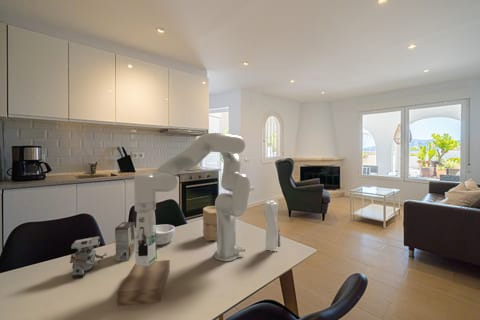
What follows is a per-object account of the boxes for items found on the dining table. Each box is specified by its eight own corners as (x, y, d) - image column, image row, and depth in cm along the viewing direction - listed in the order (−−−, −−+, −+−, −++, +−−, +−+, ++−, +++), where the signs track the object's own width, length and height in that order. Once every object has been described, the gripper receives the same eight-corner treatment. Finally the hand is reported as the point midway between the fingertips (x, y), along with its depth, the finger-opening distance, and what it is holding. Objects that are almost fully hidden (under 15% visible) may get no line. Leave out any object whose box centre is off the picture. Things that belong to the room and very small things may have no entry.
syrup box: (148, 266, 84) (148, 228, 83) (134, 265, 85) (134, 227, 84) (157, 259, 89) (156, 223, 89) (143, 257, 91) (143, 222, 90)
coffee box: (123, 252, 116) (122, 221, 116) (136, 251, 117) (135, 221, 116) (115, 261, 107) (114, 228, 106) (129, 260, 108) (128, 227, 107)
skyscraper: (278, 254, 115) (278, 200, 114) (263, 251, 118) (263, 199, 116) (280, 247, 123) (281, 197, 122) (266, 245, 126) (266, 196, 124)
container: (225, 240, 132) (225, 210, 131) (204, 242, 128) (204, 212, 127) (221, 232, 144) (221, 205, 143) (201, 234, 140) (201, 206, 139)
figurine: (98, 276, 94) (97, 242, 93) (67, 279, 92) (66, 243, 92) (107, 265, 103) (106, 233, 102) (80, 267, 101) (78, 235, 101)
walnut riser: (169, 271, 99) (169, 260, 98) (159, 301, 79) (159, 288, 79) (136, 273, 97) (136, 262, 96) (117, 305, 77) (117, 291, 77)
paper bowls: (180, 240, 132) (180, 226, 132) (159, 249, 119) (159, 235, 119) (163, 234, 140) (163, 222, 140) (142, 243, 128) (141, 229, 127)
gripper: (149, 211, 78) (150, 261, 79) (160, 200, 95) (160, 241, 96) (126, 212, 77) (127, 262, 78) (141, 200, 94) (142, 242, 95)
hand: (146, 250), depth 87 cm, fingers closed on syrup box, 7 cm apart
